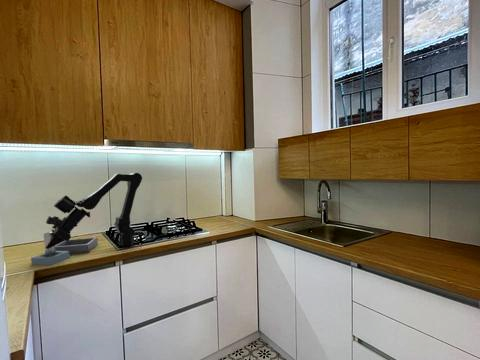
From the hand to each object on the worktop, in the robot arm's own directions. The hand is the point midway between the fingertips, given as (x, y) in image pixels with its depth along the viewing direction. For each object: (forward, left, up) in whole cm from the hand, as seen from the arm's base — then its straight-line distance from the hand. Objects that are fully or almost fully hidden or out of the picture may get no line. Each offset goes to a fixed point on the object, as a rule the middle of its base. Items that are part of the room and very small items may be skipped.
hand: (46, 247), depth 120 cm
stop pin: (-1, -1, -7) cm, 7 cm away
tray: (0, -17, -7) cm, 18 cm away
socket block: (-1, -1, -7) cm, 7 cm away
